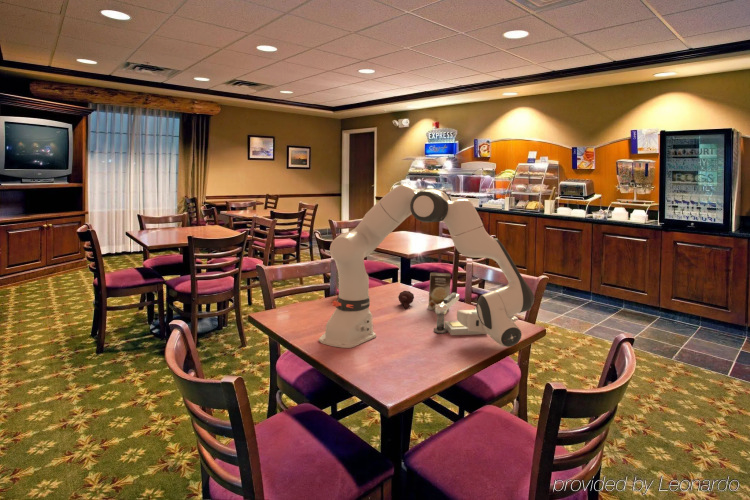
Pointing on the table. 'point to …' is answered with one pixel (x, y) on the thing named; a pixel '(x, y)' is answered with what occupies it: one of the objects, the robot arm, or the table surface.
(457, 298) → the bar
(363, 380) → the table surface
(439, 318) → the post
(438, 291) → the coffee box
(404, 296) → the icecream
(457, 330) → the block
